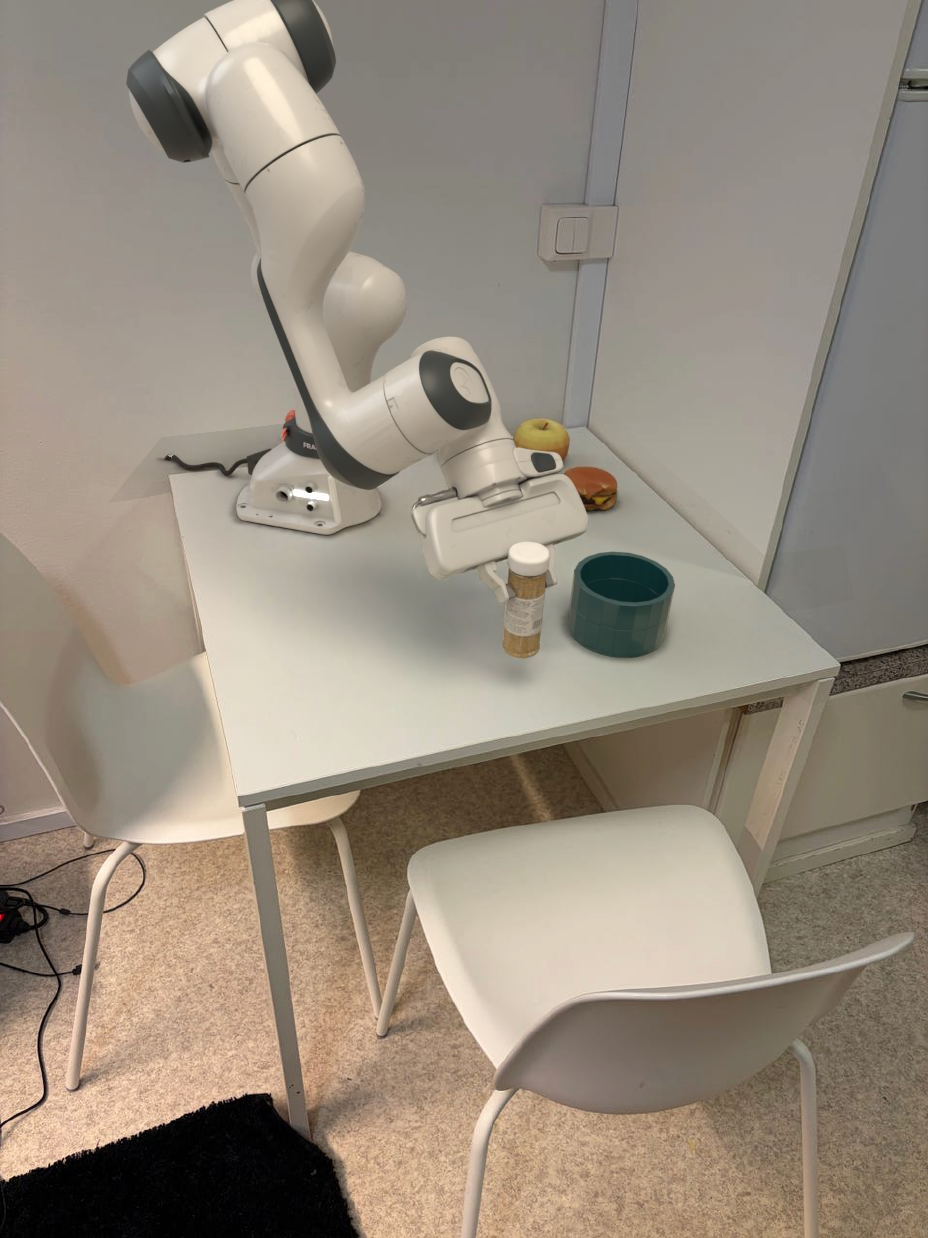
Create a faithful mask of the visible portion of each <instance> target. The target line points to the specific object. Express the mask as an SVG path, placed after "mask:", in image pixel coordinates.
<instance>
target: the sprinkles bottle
mask: <svg viewBox="0 0 928 1238" xmlns="http://www.w3.org/2000/svg"><path fill="white" fill-rule="evenodd" d="M549 561H550V553H549V550H548V549H547V548H546V547H545V546H543V545H541V544H539V543H535V542H520V543H517V544H515V545H513V546H512V547H511V548H510V549H509V552H508V559H507V567H508V573H507V583H506V584H508V583H512V585H513V587H514V589H513V590H514V591H515V592H516V598H515V599H512V600H510V601H507V602H504V615H503V638H502V642H501V647H502V650H503V651H504V652H505V654H507V655H509V656H510V657H513V658H516V659H529V658H532V657H534V656H536V654H538V653H539V651H540V648H541V644H540V642H541V641H540V640H541V630H542V628H543V617H544V610H545V601H546V600H545V599H546V589H545V585H546V573H547V571H548V568H549Z"/></svg>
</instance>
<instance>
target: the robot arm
mask: <svg viewBox="0 0 928 1238" xmlns="http://www.w3.org/2000/svg"><path fill="white" fill-rule="evenodd" d="M202 15H203V17H201V18H199V19H198V20H196V21H194V22H192V23H191V24H189V25H188V26H186V27H185V28H183V29H181V30H180V31H179V32H177V33H176V34H174V35H173V36H171V37H170V38H169V39H167V40H166V41H164V42H163V43H162V44H160V46H158V47H157V48H156V49H154V50H153V51H152V50H150V49H148V50H146V51H145V52H144V53H142V54H141V55H140V56H139V57H138V58H137V59H136V60H135V61H134V62H133V63H132V64H131V66H130V67H128V69H127V76H126V82H125V84H126V85H125V86H126V87H127V88H128V96H129V97H128V98H129V102H130V107H131V111H132V113H133V116H134V118H135V121H136V122H137V125H138V126H139V128H140V129H141V131H142V132H143V135H145V136H146V138H147V139H148V140H149V141H150V142H151V143H152V145H154V147H156V148H157V149H158V150H160V151H161V152H162V153H164V154H165V155H166V157H167V158H168V159H170V160H173V161H176V162H179V163H182V164H185V163H192V162H196V161H201V160H204V159H208V158H210V153H211V155H212V157H213V160H214V162H215V164H216V166H217V168H218V170H219V172H220V174H221V176H222V178H223V180H224V181H225V184H226V186H227V187H228V189H229V191H230V193H231V195H232V197H233V199H234V201H235V203H236V204H237V206H238V208H239V210H240V213H241V215H242V217H243V218H244V221H245V223H246V225H247V227H248V229H249V232H250V234H251V237H252V240H253V244H254V249H255V253H254V256H253V259H252V261H251V268H250V279H251V285H252V287H253V290H254V292H255V293H256V295H257V296H258V298H259V299H260V300H261V301H262V302H263V303H264V305H265V309H266V311H267V314H268V316H269V319H270V322H271V325H272V328H273V330H274V332H275V335H276V338H277V340H278V343H279V345H280V348H281V350H282V353H283V355H284V358H285V361H286V363H287V365H288V368H289V370H290V373H291V375H292V389H293V402H294V409H291V410H289V411H288V412H287V414H286V416H285V418H284V423H283V426H282V432H281V440H282V442H281V443H279V444H278V445H276V446H275V447H274V448H267V449H264V450H262V451H259V452H256V453H252V454H250V455H247V456H246V458H242V459H239V460H237V461H235V462H234V463H233V464H232V465H231V467H230V468H229V469H226V467H225V465H224V464H222V463H221V462H217V461H216V462H215V461H210V462H205V463H200V464H187V463H186V462H184V461H183V460H182V459H180V458H179V457H178V456H177V455H175V454H174V455H173V456H172V458H171V457H169V456H168V455H169V454H167V455H165V457H164V458H163V460H164V461H170V460H171V459H172V460H173V461H174V462H175V463H176V464H177V465H178V466H180V467H182V468H184V469H186V470H192V471H197V470H202V469H207V468H218V469H220V471H221V473H222V474H223V475H224V476H230V475H231V474H234V472H235V471H236V470H237V469H238V467H240V466H241V465H243V464H247V472H248V473H247V474H248V475H250V476H251V477H250V481H249V482H247V484H246V485H245V486H244V487H243V489H242V490H241V491H240V493H239V494H238V497H237V500H236V507H235V508H236V515H237V517H238V518H239V520H241V521H243V522H251V523H256V524H261V525H268V526H274V527H277V528H278V527H279V528H285V529H290V530H295V531H302V532H306V533H312V534H313V533H314V534H317V535H323V536H324V535H325V536H327V535H329V536H330V535H333V534H335V533H337V532H340V531H341V530H343V529H345V528H348V527H353V526H356V525H359V524H363V523H365V522H367V521H370V520H372V519H373V518H375V517H376V516H377V515H378V514H379V513H380V512H381V510H382V508H383V501H382V498H381V494H380V493H379V489H378V488H379V487H380V486H382V485H383V484H384V483H386V482H387V481H389V480H391V479H392V478H394V477H395V476H397V475H398V474H399V473H400V472H401V471H403V470H405V469H407V468H410V467H411V466H412V465H414V464H416V463H418V462H420V461H422V460H424V459H426V458H428V457H430V456H432V455H433V454H435V453H436V452H437V454H438V463H439V467H440V469H441V470H440V471H441V473H442V475H443V478H444V481H445V483H446V487H447V489H443V490H440V491H437V492H435V493H432V494H425V495H422V496H419V497H418V498H417V501H416V502H414V503H413V505H412V506H411V510H410V517H411V520H412V523H413V525H414V528H415V531H416V532H417V533H418V534H419V539H420V543H421V549H422V552H423V556H424V560H425V563H426V567H427V570H428V572H429V574H430V575H431V576H433V577H434V578H435V579H437V580H439V581H440V580H441V581H442V580H445V579H448V578H451V577H453V576H457V575H460V574H464V573H467V572H470V571H473V570H476V572H477V575H478V576H479V579H480V580H481V581H482V582H484V583H485V585H487V586H488V587H489V588H491V589H492V590H493V591H494V593H495V597H496V598H497V602H498V603H499V604H505V602H507V601H510V600H512V599H515V598H516V592H515V591H514V590H513V589H514V587H513V585H512V583H508V582H507V583H508V584H507V583H506V582H505V581H504V580H503V579H502V578H501V577H500V576H499V575H498V574H497V573H496V571H498V569H499V568H498V565H497V563H499V562H503V561H506V560H508V552H509V549H510V548H511V547H512V546H513V545H515V544H517V543H520V542H535V543H539V544H541V545H543V546H545V547H546V548H547V549H548V550H549V553H550V561H549V568H548V571H547V573H546V585H545V590H546V589H549V588H553V587H554V586H557V585H558V580H557V576H556V574H555V571H554V568H555V561H556V554H557V551H556V549H555V545H558V544H561V543H564V542H568V541H571V540H574V539H576V538H578V537H580V536H582V535H583V534H585V533H586V532H587V531H588V528H589V522H590V520H589V515H588V512H587V511H586V510H587V509H585V507H584V505H583V503H582V500H581V498H580V496H579V494H578V492H577V490H576V488H575V486H574V484H573V482H572V481H571V480H570V479H569V478H568V477H567V476H566V475H564V474H563V473H561V472H560V471H562V469H563V468H564V462H563V461H564V460H563V461H562V459H561V457H560V455H559V454H558V453H555V452H546V451H536V450H529V449H524V448H516V446H515V443H514V440H513V436H512V434H510V433H511V432H509V431H508V429H507V428H506V426H505V424H504V422H503V417H502V407H501V404H500V401H499V399H498V396H497V393H496V391H495V388H494V386H493V384H492V382H491V379H490V377H489V375H488V373H487V371H486V369H485V367H484V365H483V364H482V362H481V360H480V358H479V356H478V355H477V353H476V352H475V349H474V348H473V346H472V345H471V344H470V342H469V341H467V339H464V338H462V337H459V336H452V335H451V336H450V335H449V336H440V337H435V338H432V339H429V340H427V341H425V342H423V343H421V344H420V345H418V346H417V347H416V348H415V349H414V350H413V351H412V352H411V354H410V356H409V359H407V360H404V361H403V362H402V363H400V364H399V365H397V366H395V367H393V368H392V369H389V371H387V372H386V373H385V374H383V375H381V376H380V377H379V378H376V379H375V380H373V381H371V378H372V377H371V376H372V370H373V366H374V362H375V359H376V356H377V354H378V352H379V349H380V348H381V346H383V344H384V343H386V342H387V341H388V340H390V339H392V337H393V336H394V335H395V334H396V333H397V332H398V331H399V330H400V328H401V326H402V324H403V323H404V320H405V317H406V315H407V309H408V294H407V289H406V288H407V287H406V285H405V283H404V281H403V279H402V278H401V276H400V275H399V274H398V273H396V272H395V271H394V270H392V269H391V268H389V267H388V266H386V265H385V264H383V263H382V262H380V261H378V260H377V259H376V258H373V257H371V256H367V255H365V254H361V253H357V252H355V251H351V249H352V247H353V246H354V244H355V242H356V240H357V238H358V235H359V233H360V231H361V227H362V224H363V221H364V216H365V210H366V188H365V185H364V182H363V178H362V176H361V173H360V170H359V168H358V166H357V164H356V161H355V159H354V158H353V156H352V154H351V151H350V150H349V147H348V145H346V142H345V140H344V138H343V137H342V134H341V133H340V131H339V129H338V128H337V126H336V124H335V122H334V120H333V118H332V117H331V115H330V114H329V112H328V110H327V109H326V107H325V105H324V104H323V102H322V101H321V99H320V98H319V96H318V93H319V92H321V90H323V89H324V88H325V87H326V86H327V85H328V83H330V81H331V80H332V79H333V76H334V72H335V68H336V65H337V57H336V53H335V46H334V40H333V36H332V31H331V27H330V26H329V22H328V20H327V18H326V16H325V15H324V13H323V11H322V9H321V8H320V7H319V5H318V4H317V3H316V1H315V0H231V1H228V2H225V3H224V4H222V5H220V6H217V7H215V8H213V9H211V10H209V11H207V12H205V13H203V14H202Z"/></svg>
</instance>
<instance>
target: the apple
mask: <svg viewBox="0 0 928 1238" xmlns="http://www.w3.org/2000/svg"><path fill="white" fill-rule="evenodd" d="M512 438H513V440H514V443H515V446H516V448H524V449H529V450H536V451H546V452H555V453H558V454H559V455H560V457H561V459H562V461H565V459H566V458H567V456H568V454H569V451H570V450H569V449H570V443H571V442H570V441H571V438H570V435H569V433H568V431H567V429H566V428H565V427H564V425H563V424H562V423H559V422H558V421H555V420H552V419H548V418H534V419H533V418H531V419H528V420H525V421H524V422H522V423H521V424H520V425H519V427H518V428H517V429H516V430H515V432H514V433H513V436H512Z"/></svg>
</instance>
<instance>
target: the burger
mask: <svg viewBox="0 0 928 1238" xmlns="http://www.w3.org/2000/svg"><path fill="white" fill-rule="evenodd" d="M562 474H564V475H566V476H567V477H568V478H569V479H570V480H571V481H572V482H573V484H574V486H575V488H576V490H577V492H578V494H579V496H580V498H581V500H582V503H583V505H584V507H585V510H588V511H593V510H596V509H598V510H600V511H607V510H610V509H612V508H613V507H615V504H616V501H617V495H618V481H617V479H616V478H615V476H614V475H612V473H610V472H609V471H607V470H605V469H601V468H598V467H595V466H574V467H571V468H569V469H567V470H566V471H563V473H562Z"/></svg>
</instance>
